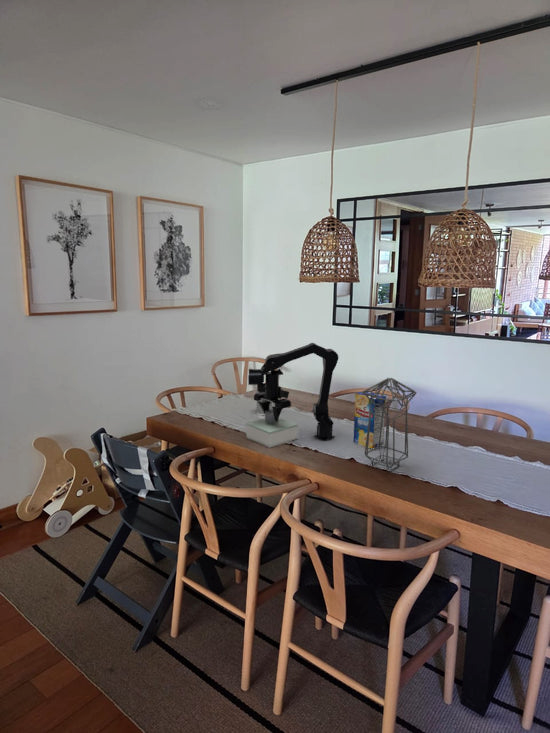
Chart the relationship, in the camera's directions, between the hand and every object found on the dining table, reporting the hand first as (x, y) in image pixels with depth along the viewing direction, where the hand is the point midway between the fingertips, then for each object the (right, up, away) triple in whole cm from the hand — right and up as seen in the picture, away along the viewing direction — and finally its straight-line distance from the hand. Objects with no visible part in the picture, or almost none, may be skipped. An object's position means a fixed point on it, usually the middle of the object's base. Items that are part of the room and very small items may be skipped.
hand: (271, 419), depth 211 cm
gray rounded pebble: (0, -1, 0) cm, 1 cm away
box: (0, -9, +2) cm, 9 cm away
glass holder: (-2, -1, +39) cm, 40 cm away
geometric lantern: (+43, -15, -28) cm, 53 cm away
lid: (0, -3, +1) cm, 3 cm away
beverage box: (+41, -11, -5) cm, 43 cm away
